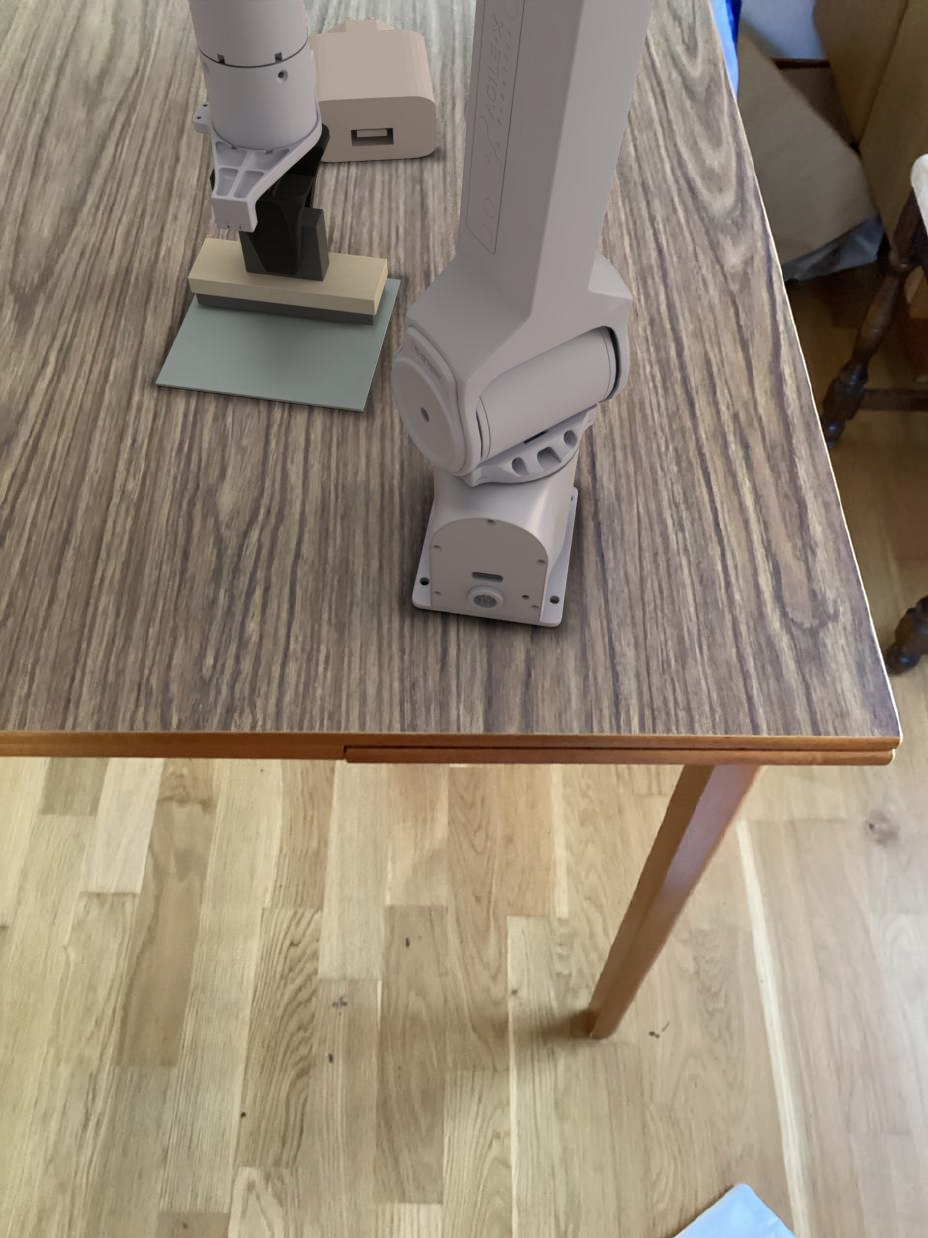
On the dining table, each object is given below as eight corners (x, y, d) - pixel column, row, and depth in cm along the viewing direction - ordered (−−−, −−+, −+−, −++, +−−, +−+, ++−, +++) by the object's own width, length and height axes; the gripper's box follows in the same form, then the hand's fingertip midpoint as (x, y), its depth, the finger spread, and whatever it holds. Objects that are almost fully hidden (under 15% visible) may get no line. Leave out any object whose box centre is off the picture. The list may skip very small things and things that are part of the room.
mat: (362, 412, 62) (362, 409, 62) (156, 385, 63) (155, 382, 63) (400, 281, 68) (400, 279, 68) (212, 259, 69) (211, 256, 69)
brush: (376, 327, 65) (370, 245, 60) (194, 305, 66) (172, 222, 61) (388, 286, 67) (384, 203, 62) (212, 264, 68) (192, 181, 63)
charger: (418, 46, 84) (436, 157, 76) (305, 52, 83) (311, 163, 75) (417, -15, 80) (435, 95, 72) (298, -10, 79) (303, 101, 71)
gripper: (217, -40, 57) (255, 179, 68) (131, 109, 49) (191, 327, 61) (341, -28, 56) (359, 191, 68) (274, 124, 49) (307, 342, 60)
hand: (287, 256), depth 64 cm, fingers closed on brush, 2 cm apart
